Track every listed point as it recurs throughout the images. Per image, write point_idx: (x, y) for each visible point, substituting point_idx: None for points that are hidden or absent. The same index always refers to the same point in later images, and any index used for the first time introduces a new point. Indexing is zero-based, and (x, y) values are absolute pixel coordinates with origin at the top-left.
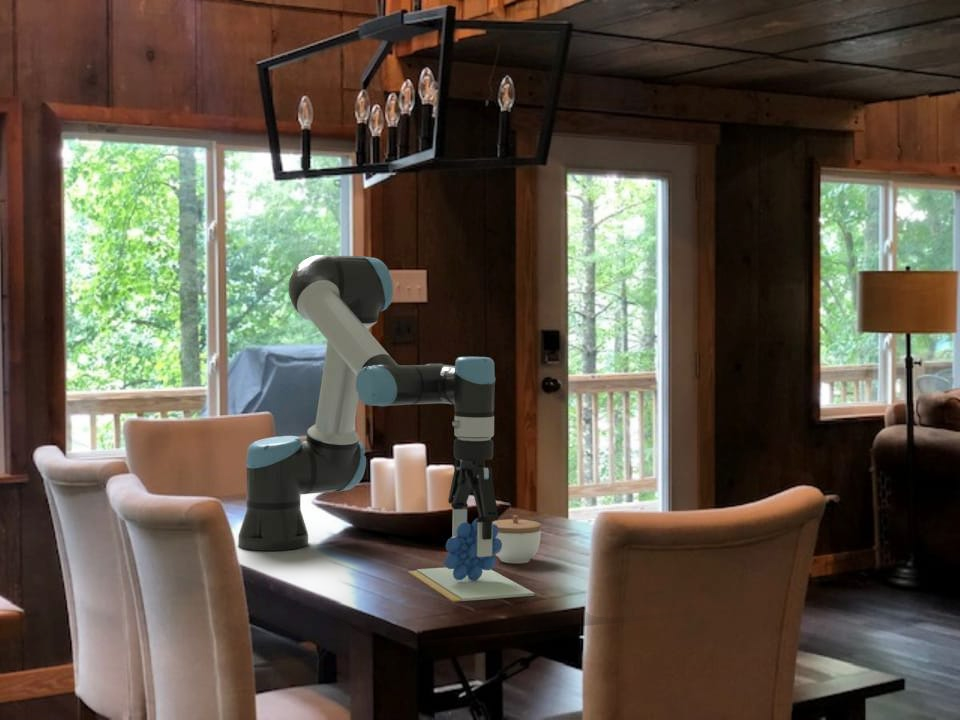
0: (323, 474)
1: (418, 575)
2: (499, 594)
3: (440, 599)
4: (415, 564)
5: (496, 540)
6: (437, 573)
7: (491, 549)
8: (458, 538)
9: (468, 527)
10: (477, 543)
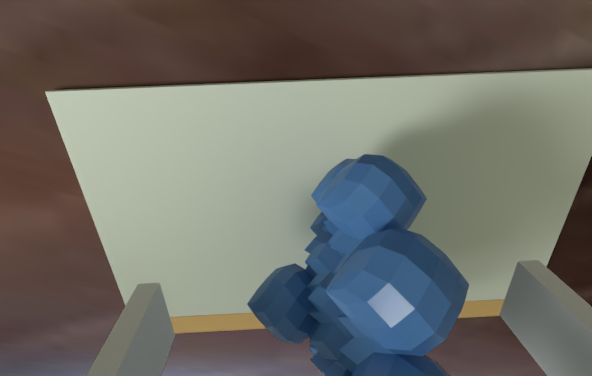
0: None
1: (205, 325)
2: (561, 196)
3: (478, 327)
4: (8, 293)
5: (409, 218)
6: (199, 282)
7: (563, 287)
8: None
9: None
10: (546, 371)
